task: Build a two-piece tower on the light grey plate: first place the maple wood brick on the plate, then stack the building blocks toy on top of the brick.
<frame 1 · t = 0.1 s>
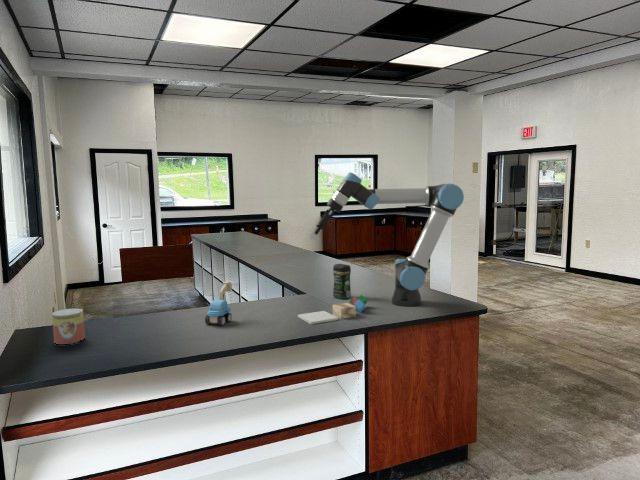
hand: (312, 238, 232), 36 cm above the countertop, tool tilted 35°, fingers open, 13 cm apart
maple brick: (344, 316, 225), on the countertop
canned food: (69, 341, 194), on the countertop
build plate: (317, 318, 221), on the countertop
coffee jar: (342, 298, 261), on the countertop
building blocks: (360, 310, 235), on the countertop
toy excavator: (222, 321, 219), on the countertop
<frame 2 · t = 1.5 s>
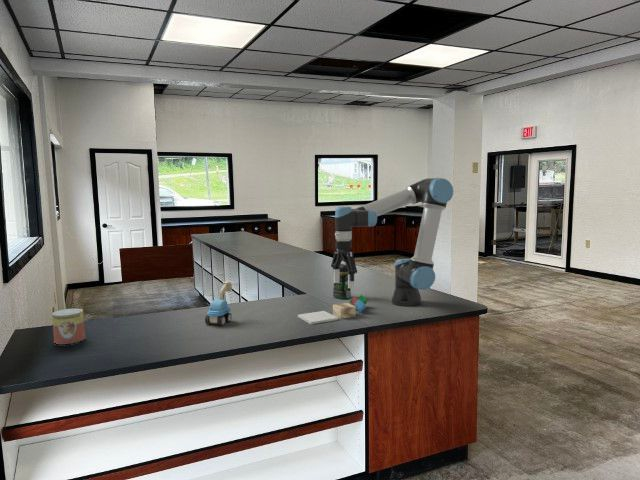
hand: (343, 285, 224), 14 cm above the countertop, tool pointing down, fingers open, 13 cm apart
nothing on the countertop moved.
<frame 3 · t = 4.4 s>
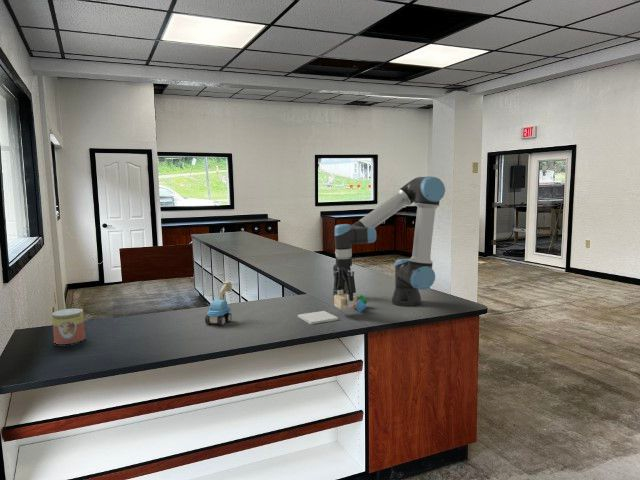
hand: (345, 305, 225), 5 cm above the countertop, tool pointing down, fingers closed on maple brick, 8 cm apart
maple brick: (345, 306, 225), point 4 cm above the countertop, touching gripper
everything else where it was.
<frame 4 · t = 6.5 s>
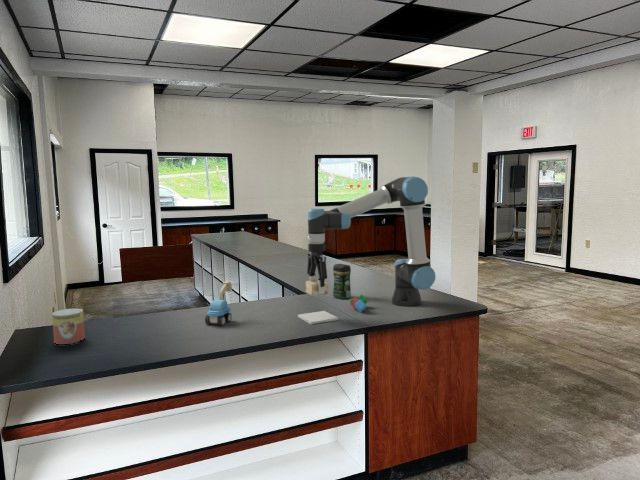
hand: (317, 291, 220), 13 cm above the countertop, tool pointing down, fingers closed on maple brick, 8 cm apart
maple brick: (316, 292, 220), point 12 cm above the countertop, touching gripper
everything else where it was.
when the fingers open (1 cm above the countertop, at t = 8.8 s): maple brick stays where it is, resting on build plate.
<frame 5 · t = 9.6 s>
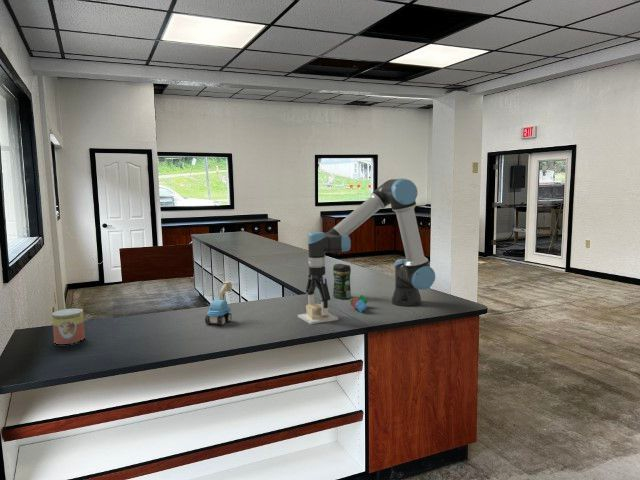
hand: (318, 311, 221), 3 cm above the countertop, tool pointing down, fingers open, 13 cm apart
maple brick: (317, 316, 221), point 1 cm above the countertop, touching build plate
everything else where it was.
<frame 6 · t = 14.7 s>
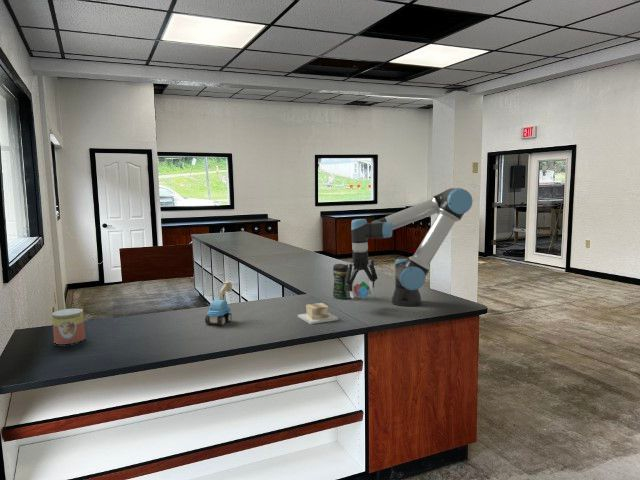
hand: (361, 295, 234), 7 cm above the countertop, tool pointing down, fingers closed on building blocks, 10 cm apart
building blocks: (363, 296, 235), point 6 cm above the countertop, touching gripper
everything else where it was.
when the fingers open (7 cm above the countertop, at t = 19.3 s): building blocks stays where it is, resting on maple brick.
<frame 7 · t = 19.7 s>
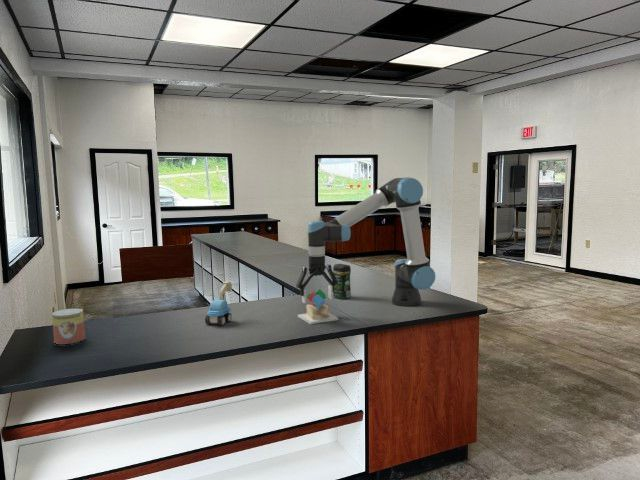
hand: (317, 300, 220), 8 cm above the countertop, tool pointing down, fingers open, 13 cm apart
maple brick: (317, 316, 221), point 1 cm above the countertop, touching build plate, building blocks
building blocks: (319, 305, 221), point 6 cm above the countertop, touching maple brick
everything else where it was.
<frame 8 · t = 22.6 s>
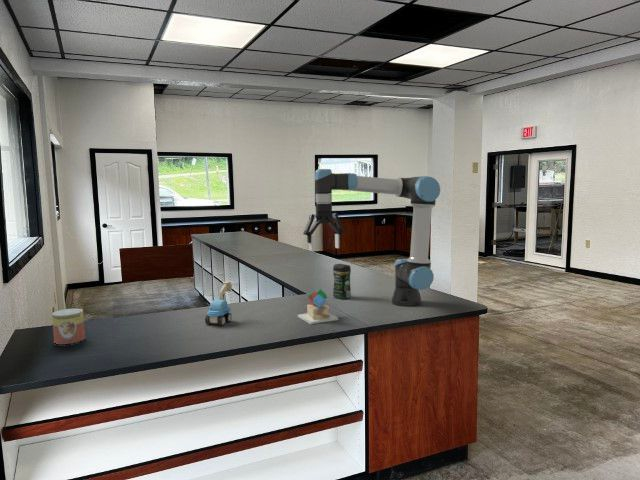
hand: (324, 249, 222), 32 cm above the countertop, tool pointing down, fingers open, 13 cm apart
nothing on the countertop moved.
at the end: maple brick inside the target area on the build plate (0.4 cm from its centre), point 1.0 cm above the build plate's base; building blocks inside the target area on the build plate (1.2 cm from its centre), point 5.8 cm above the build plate's base; the gripper is holding nothing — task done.
